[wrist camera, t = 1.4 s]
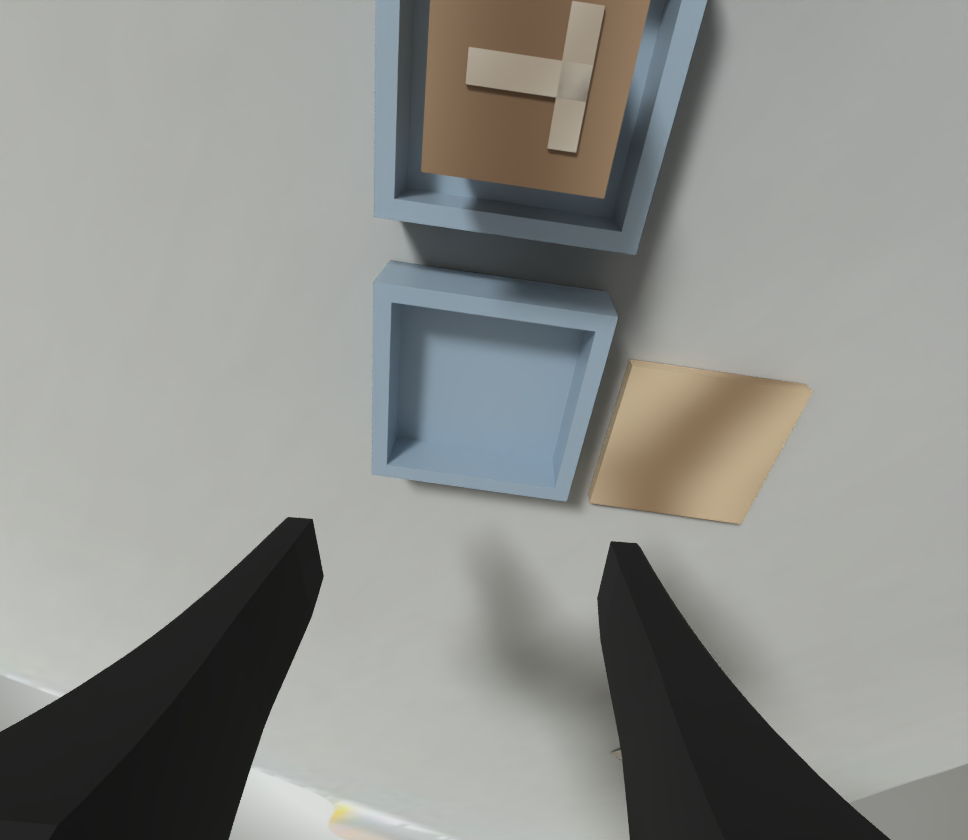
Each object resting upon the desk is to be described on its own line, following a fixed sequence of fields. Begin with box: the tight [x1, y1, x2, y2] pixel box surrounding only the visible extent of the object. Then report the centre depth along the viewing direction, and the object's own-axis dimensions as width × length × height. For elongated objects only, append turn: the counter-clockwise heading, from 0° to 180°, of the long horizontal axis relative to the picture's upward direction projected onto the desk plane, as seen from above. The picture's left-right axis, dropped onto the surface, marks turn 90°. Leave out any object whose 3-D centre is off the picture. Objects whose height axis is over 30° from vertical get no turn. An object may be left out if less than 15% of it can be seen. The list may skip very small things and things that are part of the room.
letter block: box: [421, 0, 650, 199], centre depth 13 cm, size 4×4×6 cm
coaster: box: [588, 359, 813, 524], centre depth 22 cm, size 7×7×1 cm
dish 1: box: [374, 0, 707, 255], centre depth 15 cm, size 8×8×2 cm
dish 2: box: [372, 261, 618, 502], centre depth 20 cm, size 8×8×2 cm
